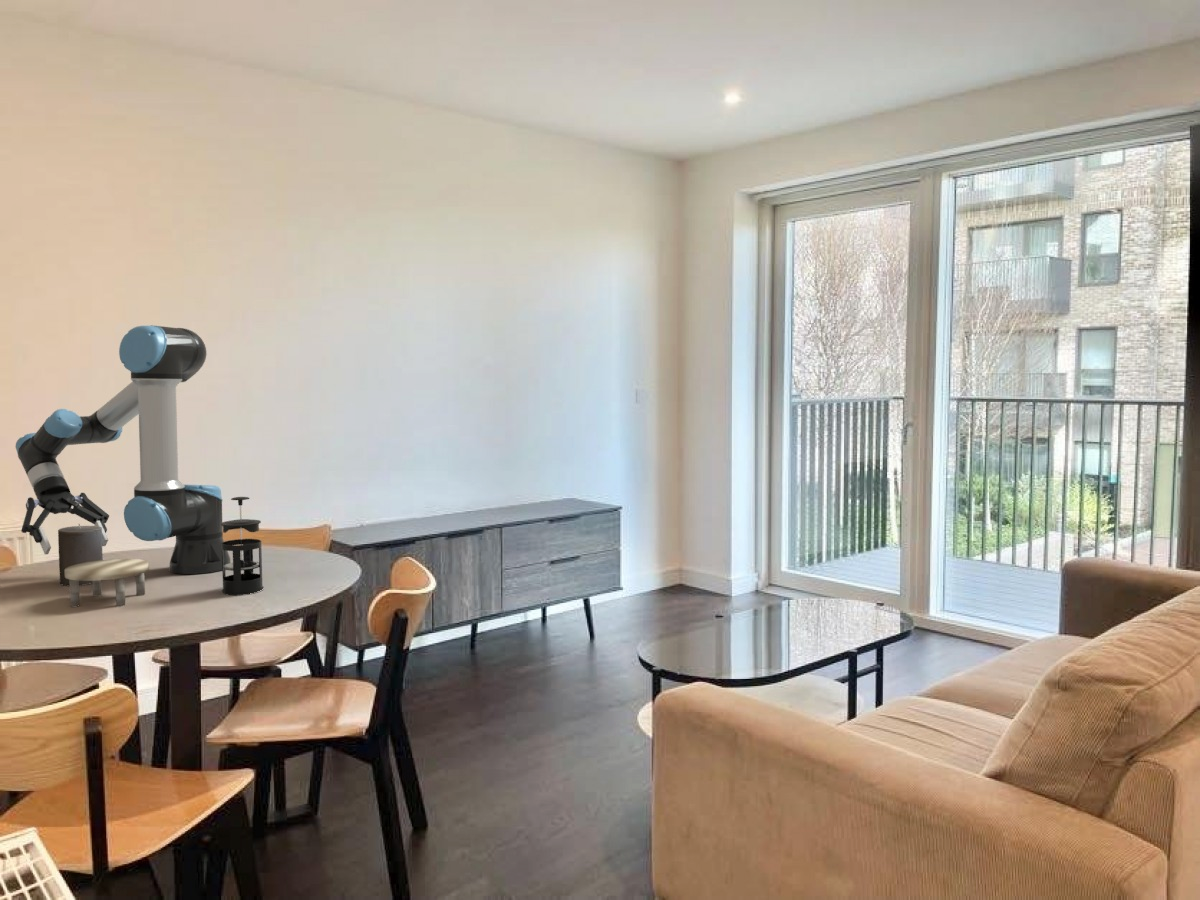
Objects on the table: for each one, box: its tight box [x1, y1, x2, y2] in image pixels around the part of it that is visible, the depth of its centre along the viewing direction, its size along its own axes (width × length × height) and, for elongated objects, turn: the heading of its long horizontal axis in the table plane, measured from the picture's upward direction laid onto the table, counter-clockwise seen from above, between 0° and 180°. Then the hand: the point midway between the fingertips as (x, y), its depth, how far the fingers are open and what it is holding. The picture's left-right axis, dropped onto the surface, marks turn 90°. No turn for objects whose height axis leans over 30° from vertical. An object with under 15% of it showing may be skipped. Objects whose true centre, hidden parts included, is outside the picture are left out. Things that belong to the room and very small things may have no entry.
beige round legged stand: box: [65, 558, 150, 607], centre depth 202 cm, size 17×17×8 cm
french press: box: [221, 496, 264, 596], centre depth 212 cm, size 12×9×23 cm
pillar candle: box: [57, 523, 104, 586], centre depth 221 cm, size 10×10×15 cm
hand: (77, 547), depth 221 cm, fingers open, 13 cm apart
